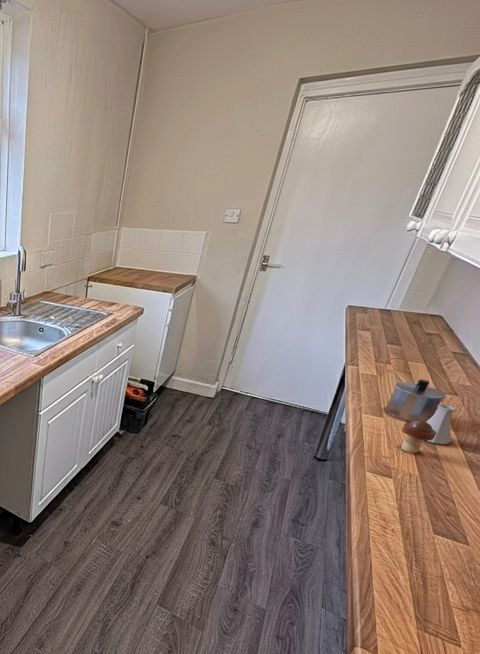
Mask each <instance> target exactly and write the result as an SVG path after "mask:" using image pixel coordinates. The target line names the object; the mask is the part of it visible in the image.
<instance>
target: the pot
mask: <svg viewBox="0 0 480 654" xmlns="http://www.w3.org/2000/svg"><path fill="white" fill-rule="evenodd" d="M442 401H443V399H428V398H422V397H418V396H414V395H410V394H407V393H405V392H402V391H400V390H398V389H397V388H396V387H395V386H394V390H393V392H392V394H391V396H390V398H389V400H388V403H387V405H386V407H385V411H384V412H386V413H387V414H388V415H389V416H391V417H393V418H395V419H397V420H398V419H399V420H401V421H404V422H407V423H412V422H414V421H424V422H427V421H428V420H429V419H430V418H432V416H433V415H434V414H435V413H436V412H437V410H438V405H440V404H441V403H442Z"/></svg>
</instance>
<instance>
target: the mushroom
mask: <svg viewBox="0 0 480 654" xmlns="http://www.w3.org/2000/svg"><path fill="white" fill-rule="evenodd" d="M401 432H402V433H404V434H405V435H406V437H405V438H404V440H403V442H402V445H401V447H400V449H401V450H402V451H404V452H407V453H409V454H418V452H419V451H420V449H421V447H422V445H423V443H424V442H425V441H427V440H433V439H434V437H435V435H436V431H435V430H433V429H432V427H431V425H430V424H428V423H427V422H424V421H414V422H406V423H404V424H403V426H402V428H401Z"/></svg>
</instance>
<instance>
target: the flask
mask: <svg viewBox="0 0 480 654" xmlns="http://www.w3.org/2000/svg"><path fill="white" fill-rule="evenodd" d="M456 410H457V408H456V407H453V406H451V405H448V404H442V403H440V404H439V405H438V408H437V410H436V412H435V414H434V415H433V416H432V418H430V419H429V420H428V421H427V423H428V424H430V425H431V427H432V429H433V430H435V431H436V435H435V437H434V439H433V440H426V441H427V442H429V443H432V444H440V445H447V444H450V443H451V442H452V438H451V418H452V415H453V412H455V411H456Z"/></svg>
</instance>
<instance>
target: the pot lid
mask: <svg viewBox="0 0 480 654" xmlns="http://www.w3.org/2000/svg"><path fill="white" fill-rule="evenodd" d="M429 384H430V381H429V380H426V379H418V381H417V383H412V382H396V383H395V384H394V388H395V387H396V388H397V389H398V390H400V391H402V392H405V393H407V394H410V395H414V396H418V397H422V398H428V399H442V400H443V399H444V400H445V398H446V393H444V392H442V391H440V390H438V389H436V388H434V387H430V386H429Z"/></svg>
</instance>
